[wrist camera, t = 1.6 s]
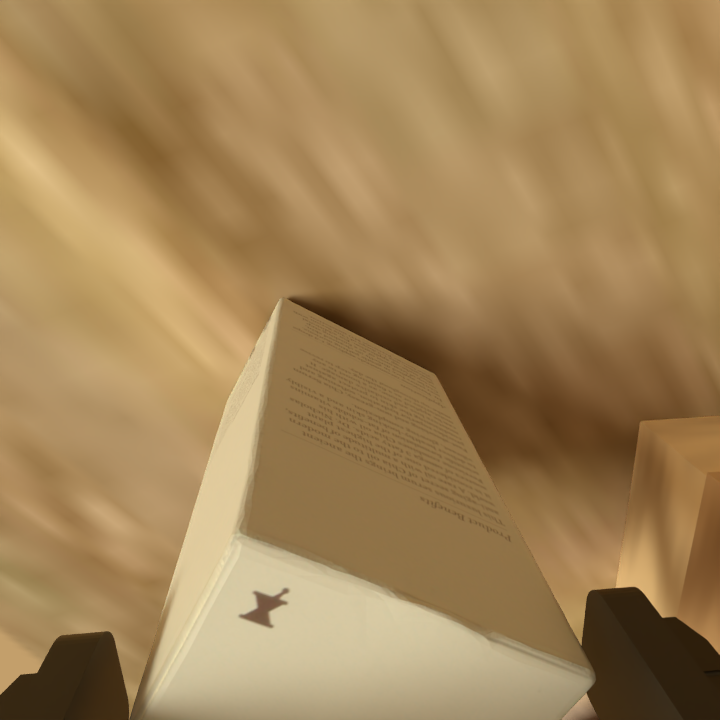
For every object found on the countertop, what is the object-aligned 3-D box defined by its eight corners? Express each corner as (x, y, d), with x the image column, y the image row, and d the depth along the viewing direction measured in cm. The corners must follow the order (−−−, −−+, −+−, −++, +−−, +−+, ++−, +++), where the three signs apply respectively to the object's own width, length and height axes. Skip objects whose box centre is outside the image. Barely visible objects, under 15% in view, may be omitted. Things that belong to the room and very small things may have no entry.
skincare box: (224, 402, 19) (103, 752, 8) (281, 292, 18) (231, 524, 7) (380, 472, 21) (459, 852, 10) (442, 374, 20) (614, 676, 8)
